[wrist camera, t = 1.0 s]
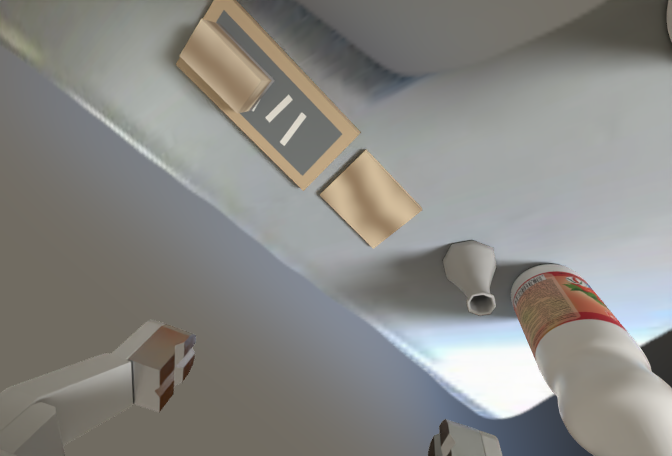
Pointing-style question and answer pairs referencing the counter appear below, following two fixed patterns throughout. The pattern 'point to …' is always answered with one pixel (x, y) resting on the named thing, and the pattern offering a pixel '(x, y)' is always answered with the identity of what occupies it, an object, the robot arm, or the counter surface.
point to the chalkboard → (281, 103)
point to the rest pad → (370, 200)
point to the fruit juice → (592, 366)
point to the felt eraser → (226, 66)
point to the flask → (472, 274)
